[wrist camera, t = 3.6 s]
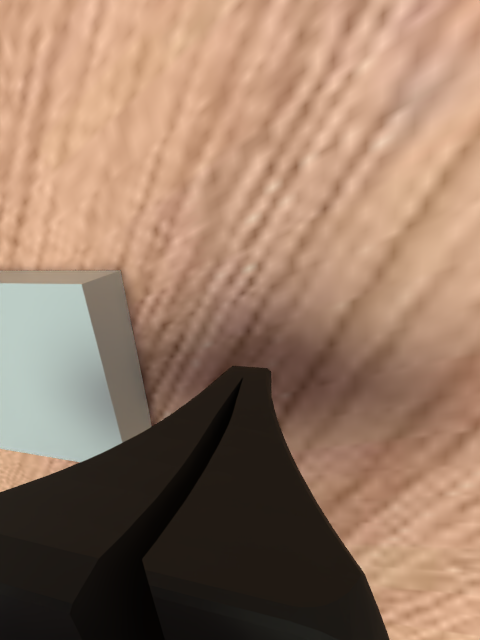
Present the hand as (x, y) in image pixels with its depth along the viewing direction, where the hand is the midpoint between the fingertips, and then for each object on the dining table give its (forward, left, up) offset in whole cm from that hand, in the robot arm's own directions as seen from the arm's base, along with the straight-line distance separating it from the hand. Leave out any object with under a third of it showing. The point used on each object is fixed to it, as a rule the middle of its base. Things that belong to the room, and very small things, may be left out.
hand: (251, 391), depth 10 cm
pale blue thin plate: (0, +10, -2) cm, 10 cm away
